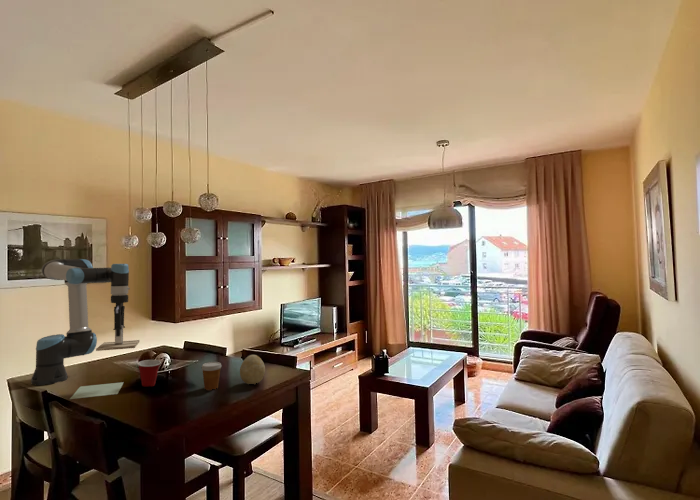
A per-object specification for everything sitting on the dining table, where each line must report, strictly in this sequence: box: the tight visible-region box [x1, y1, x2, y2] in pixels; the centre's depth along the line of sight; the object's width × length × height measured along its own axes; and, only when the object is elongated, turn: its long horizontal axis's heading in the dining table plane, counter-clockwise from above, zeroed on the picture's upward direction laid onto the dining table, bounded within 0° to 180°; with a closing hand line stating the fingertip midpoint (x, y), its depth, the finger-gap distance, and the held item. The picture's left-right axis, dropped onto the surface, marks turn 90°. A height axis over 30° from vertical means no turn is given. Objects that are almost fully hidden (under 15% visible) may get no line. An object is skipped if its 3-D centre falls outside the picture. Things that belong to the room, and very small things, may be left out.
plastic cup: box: [137, 359, 162, 388], centre depth 198 cm, size 11×11×12 cm
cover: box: [95, 325, 140, 352], centre depth 192 cm, size 16×16×10 cm
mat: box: [69, 381, 124, 400], centre depth 189 cm, size 19×19×1 cm
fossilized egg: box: [239, 354, 266, 385], centre depth 201 cm, size 13×13×15 cm
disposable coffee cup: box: [201, 361, 223, 391], centre depth 194 cm, size 10×10×12 cm
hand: (119, 342), depth 192 cm, fingers closed on cover, 3 cm apart
